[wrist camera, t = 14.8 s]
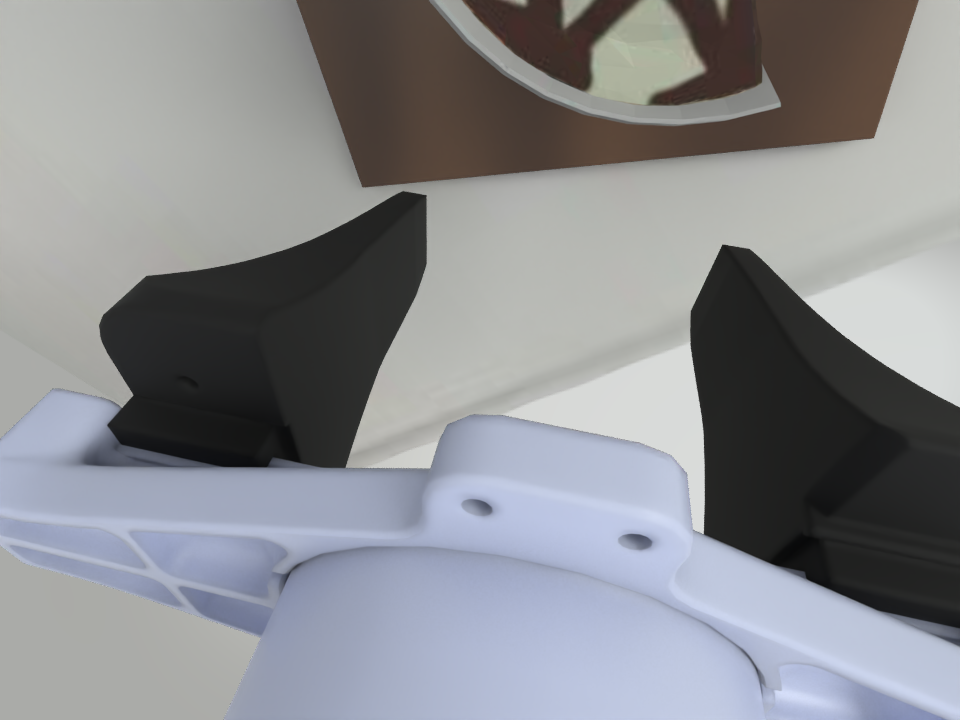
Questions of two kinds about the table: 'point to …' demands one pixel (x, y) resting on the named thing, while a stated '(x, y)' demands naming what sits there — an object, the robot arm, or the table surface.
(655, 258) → the table surface
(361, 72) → the walnut board
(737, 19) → the food container
